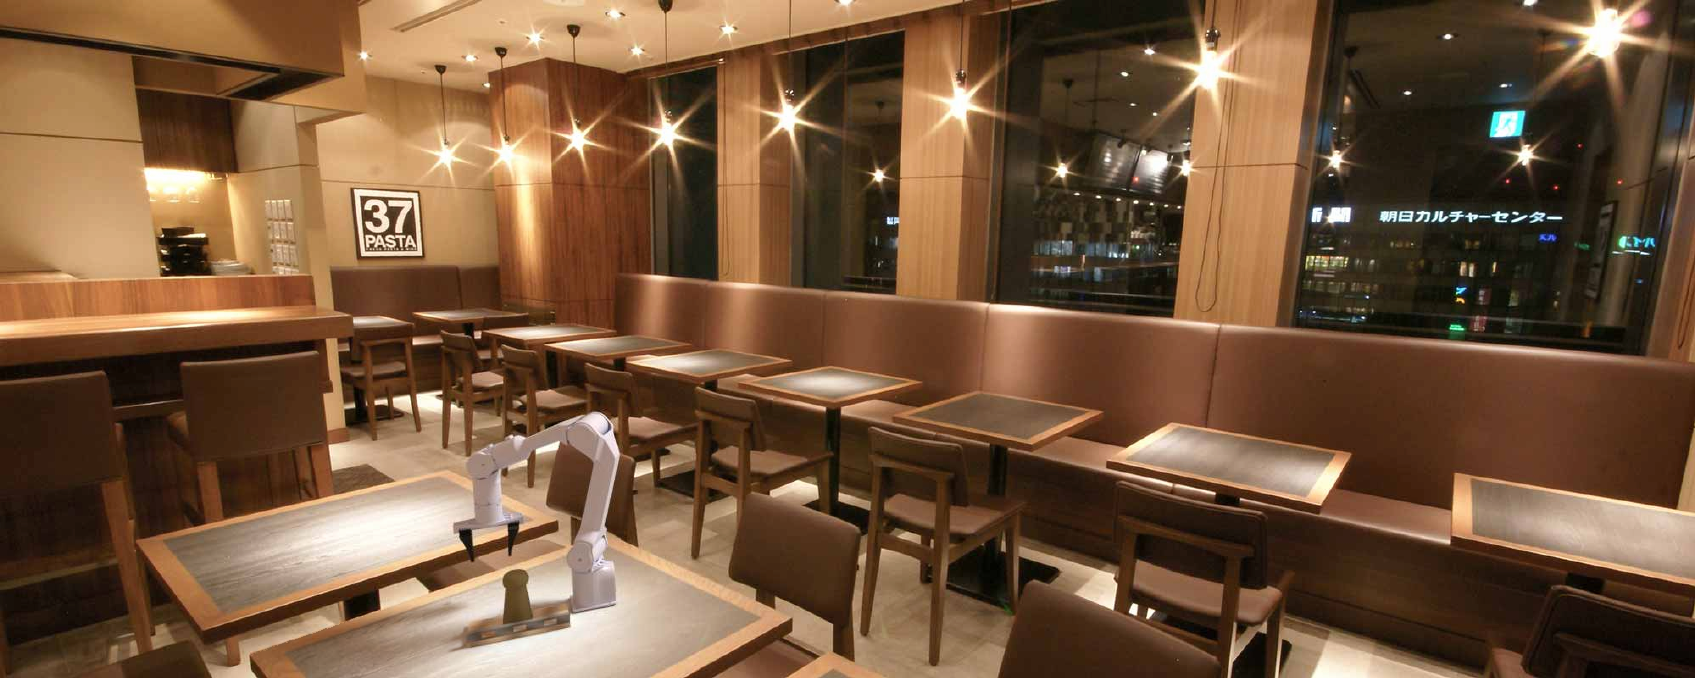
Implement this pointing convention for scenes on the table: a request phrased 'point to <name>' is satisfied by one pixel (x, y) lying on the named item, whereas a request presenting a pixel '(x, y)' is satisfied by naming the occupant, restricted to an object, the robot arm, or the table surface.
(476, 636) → the shelf board
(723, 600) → the table surface
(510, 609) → the cork
